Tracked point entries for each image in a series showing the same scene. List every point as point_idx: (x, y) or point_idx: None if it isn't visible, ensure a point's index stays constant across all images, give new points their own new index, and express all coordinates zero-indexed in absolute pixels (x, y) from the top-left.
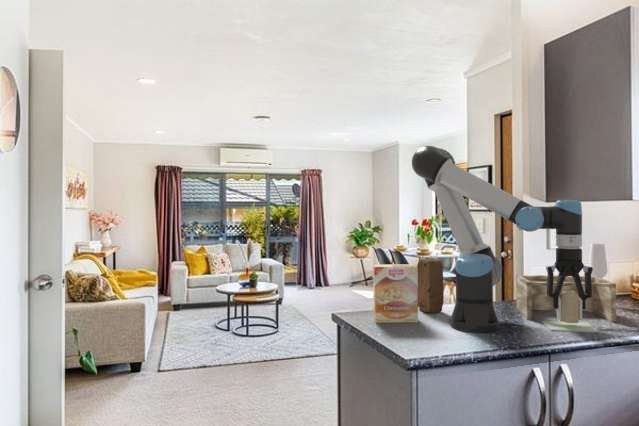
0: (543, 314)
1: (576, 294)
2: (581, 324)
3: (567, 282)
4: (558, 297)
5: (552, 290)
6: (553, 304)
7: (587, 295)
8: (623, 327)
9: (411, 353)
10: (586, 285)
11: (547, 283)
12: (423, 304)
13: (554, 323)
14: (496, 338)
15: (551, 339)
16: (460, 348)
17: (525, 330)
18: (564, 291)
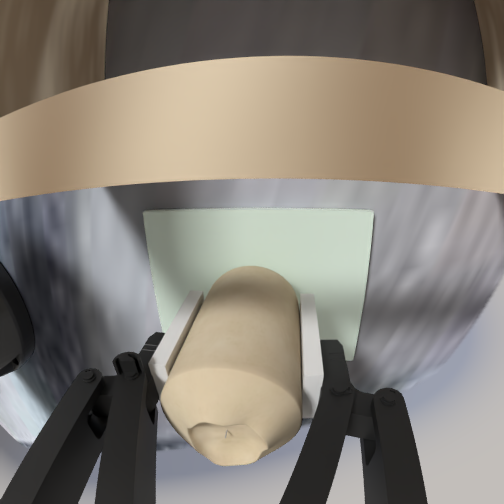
0: (191, 13)
1: (275, 449)
2: (325, 264)
3: (316, 106)
4: (156, 412)
5: (103, 440)
6: (146, 350)
7: (362, 433)
8: (486, 258)
9: (9, 429)
10: (370, 495)
11: (44, 436)
12: None
13: (193, 259)
14: (56, 399)
15: (166, 421)
16: (37, 430)
17: (93, 343)
18: (189, 428)
